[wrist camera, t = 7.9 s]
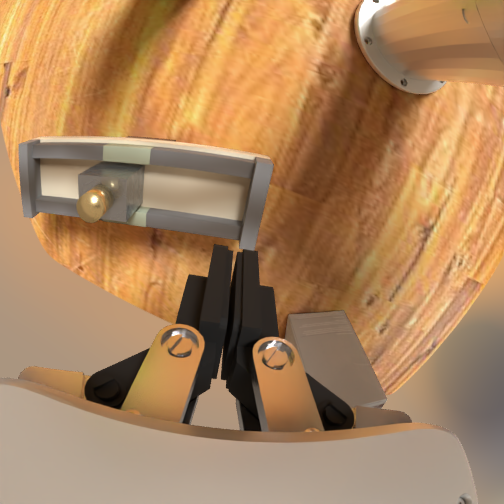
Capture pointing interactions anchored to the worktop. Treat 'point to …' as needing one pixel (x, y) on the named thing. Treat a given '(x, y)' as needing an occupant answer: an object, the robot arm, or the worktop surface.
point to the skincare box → (335, 357)
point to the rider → (110, 191)
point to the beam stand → (154, 182)
